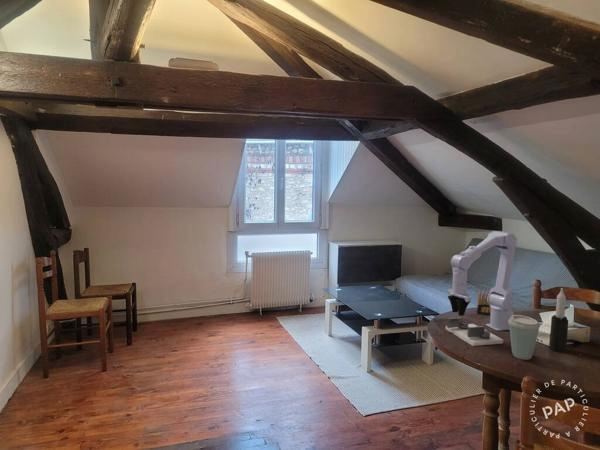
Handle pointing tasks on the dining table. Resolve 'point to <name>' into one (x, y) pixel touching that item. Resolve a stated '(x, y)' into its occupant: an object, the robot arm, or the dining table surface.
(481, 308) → the ammunition clip
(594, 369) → the dining table surface
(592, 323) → the dining table surface
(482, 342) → the base
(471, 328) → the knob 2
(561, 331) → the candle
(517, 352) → the disposable coffee cup
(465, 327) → the knob
